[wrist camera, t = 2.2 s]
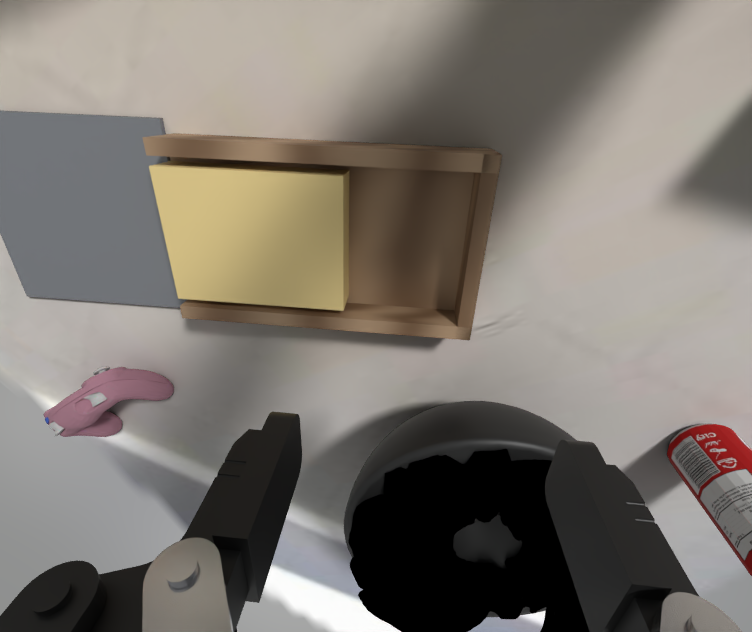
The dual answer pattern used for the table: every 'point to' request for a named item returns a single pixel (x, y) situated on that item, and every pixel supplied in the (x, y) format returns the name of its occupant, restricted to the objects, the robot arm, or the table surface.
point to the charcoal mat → (83, 208)
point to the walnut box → (377, 230)
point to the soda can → (719, 480)
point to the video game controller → (104, 401)
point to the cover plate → (256, 233)
